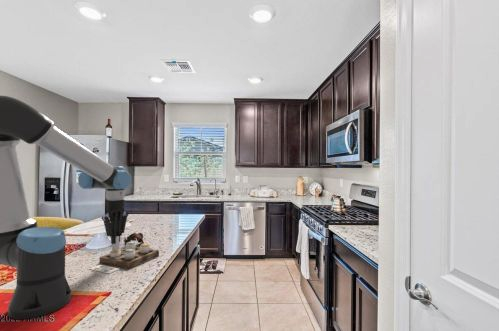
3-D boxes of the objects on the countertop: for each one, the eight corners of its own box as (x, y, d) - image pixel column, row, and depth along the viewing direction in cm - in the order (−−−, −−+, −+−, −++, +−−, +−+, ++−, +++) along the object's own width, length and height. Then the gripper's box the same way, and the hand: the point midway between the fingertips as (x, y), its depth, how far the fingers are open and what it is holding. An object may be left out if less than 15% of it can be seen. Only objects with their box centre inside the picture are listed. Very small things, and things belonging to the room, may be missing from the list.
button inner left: (114, 260, 114) (114, 252, 114) (107, 259, 116) (107, 251, 116) (122, 257, 118) (122, 249, 118) (115, 256, 120) (116, 248, 120)
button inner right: (129, 260, 111) (129, 252, 111) (121, 258, 112) (122, 250, 112) (137, 257, 115) (137, 249, 115) (130, 255, 116) (130, 248, 116)
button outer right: (144, 254, 119) (145, 246, 119) (137, 252, 121) (137, 245, 121) (151, 251, 123) (151, 243, 123) (144, 250, 125) (145, 242, 125)
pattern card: (109, 273, 102) (109, 272, 102) (88, 269, 107) (88, 268, 107) (119, 269, 107) (119, 268, 107) (99, 265, 112) (99, 264, 112)
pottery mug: (141, 249, 135) (132, 237, 134) (126, 256, 137) (118, 244, 135) (150, 238, 147) (143, 226, 145) (137, 244, 148) (129, 233, 147)
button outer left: (130, 251, 122) (130, 244, 123) (124, 250, 124) (124, 243, 124) (137, 248, 127) (138, 241, 127) (131, 247, 128) (131, 240, 128)
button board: (128, 268, 108) (128, 262, 108) (99, 262, 115) (99, 257, 115) (158, 255, 124) (158, 250, 124) (131, 250, 131) (131, 246, 131)
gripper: (108, 201, 110) (108, 255, 110) (133, 198, 122) (133, 247, 122) (97, 200, 113) (96, 253, 113) (121, 197, 125) (121, 245, 125)
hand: (115, 250), depth 117 cm, fingers closed
